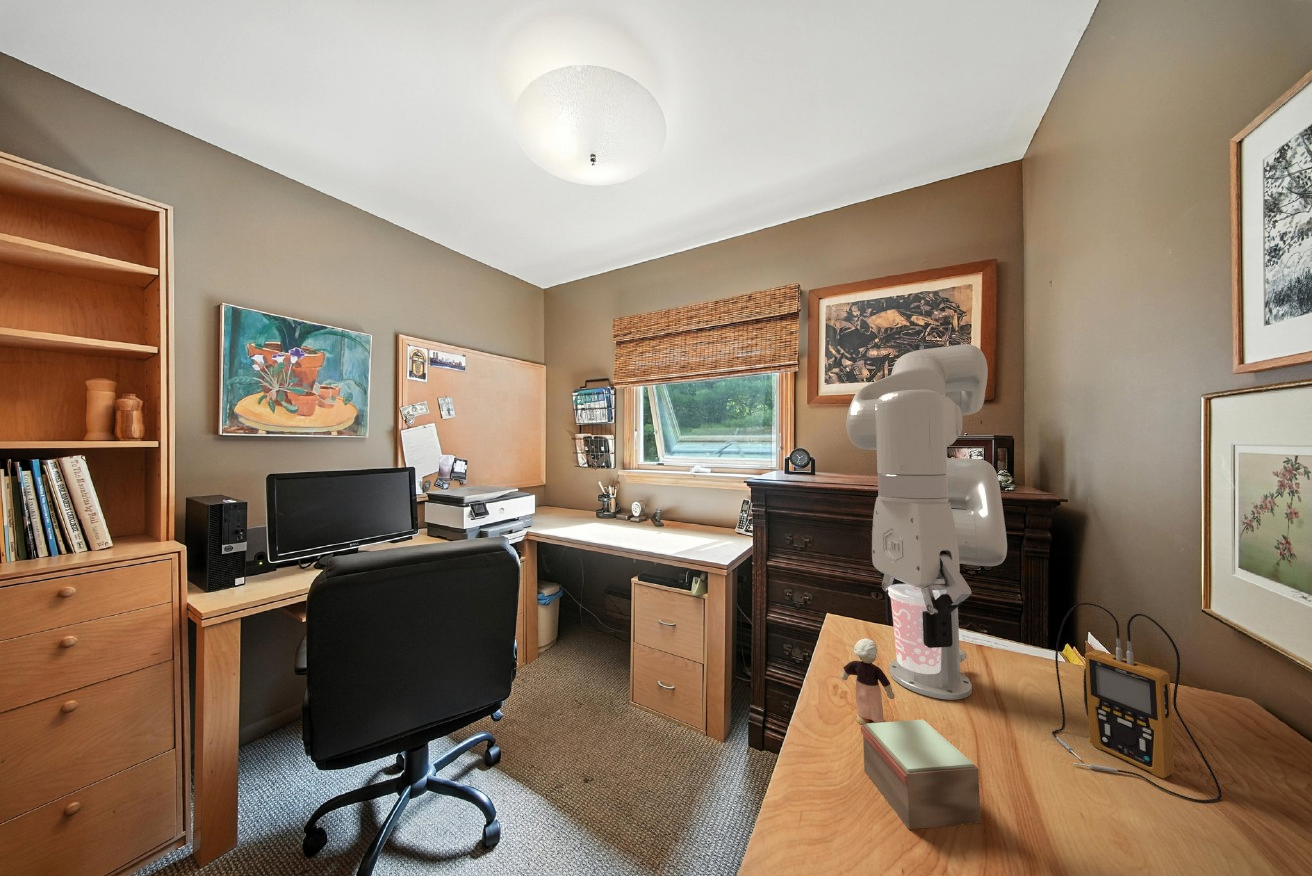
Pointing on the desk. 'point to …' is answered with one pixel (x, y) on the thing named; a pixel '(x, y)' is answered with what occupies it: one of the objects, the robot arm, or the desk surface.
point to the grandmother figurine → (868, 683)
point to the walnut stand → (921, 774)
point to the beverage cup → (912, 630)
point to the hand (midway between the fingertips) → (917, 632)
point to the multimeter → (1130, 709)
